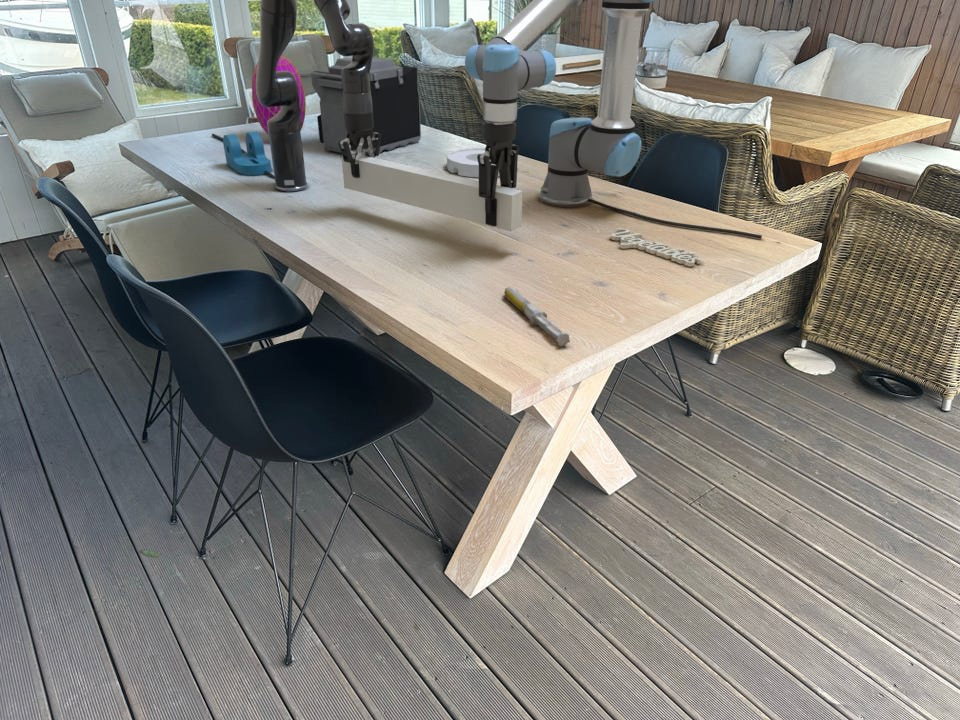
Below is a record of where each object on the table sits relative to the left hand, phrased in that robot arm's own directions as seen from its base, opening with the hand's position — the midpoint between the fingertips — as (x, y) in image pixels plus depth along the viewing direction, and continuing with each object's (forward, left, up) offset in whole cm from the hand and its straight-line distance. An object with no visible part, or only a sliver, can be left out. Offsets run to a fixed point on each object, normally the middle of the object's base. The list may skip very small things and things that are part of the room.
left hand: (363, 175), depth 186 cm
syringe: (+77, +6, -11) cm, 78 cm away
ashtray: (-26, +51, -11) cm, 58 cm away
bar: (+21, +9, -4) cm, 23 cm away
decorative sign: (+59, +52, -11) cm, 79 cm away
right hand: (+41, +18, -3) cm, 45 cm away
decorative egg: (-96, +3, -11) cm, 96 cm away
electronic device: (-72, +29, -11) cm, 79 cm away
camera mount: (-60, -18, -11) cm, 64 cm away
